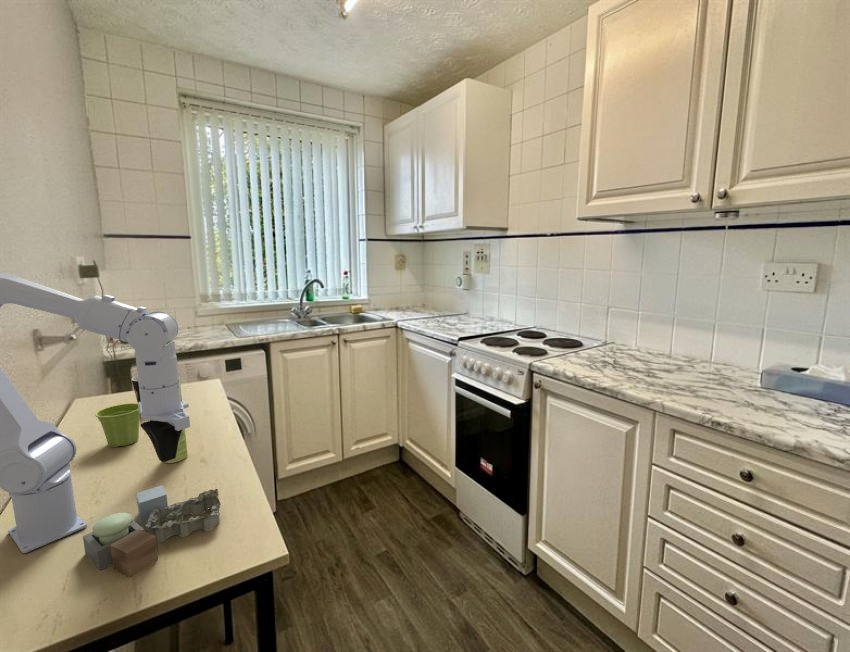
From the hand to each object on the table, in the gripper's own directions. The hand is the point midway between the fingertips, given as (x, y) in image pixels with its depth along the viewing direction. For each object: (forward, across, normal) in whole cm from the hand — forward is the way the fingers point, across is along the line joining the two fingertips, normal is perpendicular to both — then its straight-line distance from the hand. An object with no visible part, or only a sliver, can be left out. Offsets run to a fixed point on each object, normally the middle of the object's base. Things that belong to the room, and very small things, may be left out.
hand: (167, 459), depth 71 cm
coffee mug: (+11, +62, -21) cm, 66 cm away
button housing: (+10, -2, +10) cm, 14 cm away
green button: (+10, -2, +10) cm, 14 cm away
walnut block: (+10, -8, +9) cm, 16 cm away
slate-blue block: (+10, +3, +2) cm, 11 cm away
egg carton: (+11, -5, 0) cm, 12 cm away
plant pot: (+11, +42, -7) cm, 44 cm away
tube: (+11, +22, -10) cm, 26 cm away
